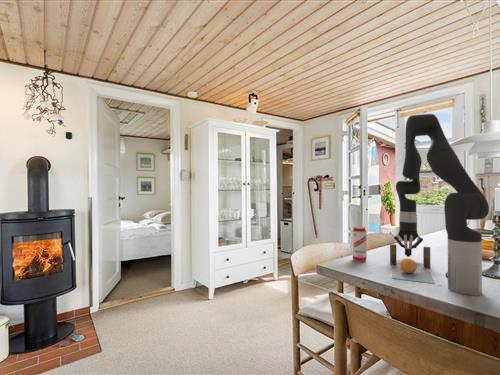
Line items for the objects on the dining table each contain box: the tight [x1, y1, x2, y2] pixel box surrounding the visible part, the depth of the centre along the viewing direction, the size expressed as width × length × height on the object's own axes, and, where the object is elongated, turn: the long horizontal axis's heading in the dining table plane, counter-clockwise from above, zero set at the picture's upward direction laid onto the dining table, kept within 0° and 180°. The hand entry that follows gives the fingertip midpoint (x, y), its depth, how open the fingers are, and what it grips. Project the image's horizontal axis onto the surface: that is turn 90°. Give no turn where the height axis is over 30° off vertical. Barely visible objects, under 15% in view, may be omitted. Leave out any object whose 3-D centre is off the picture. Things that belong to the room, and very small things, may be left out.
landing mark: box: [391, 268, 436, 285], centre depth 110 cm, size 14×14×1 cm
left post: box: [389, 243, 397, 266], centre depth 128 cm, size 3×3×9 cm
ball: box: [399, 258, 418, 274], centre depth 114 cm, size 6×6×6 cm
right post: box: [422, 246, 431, 270], centre depth 122 cm, size 3×3×9 cm
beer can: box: [352, 226, 368, 263], centre depth 134 cm, size 6×6×16 cm
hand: (408, 256), depth 136 cm, fingers closed
